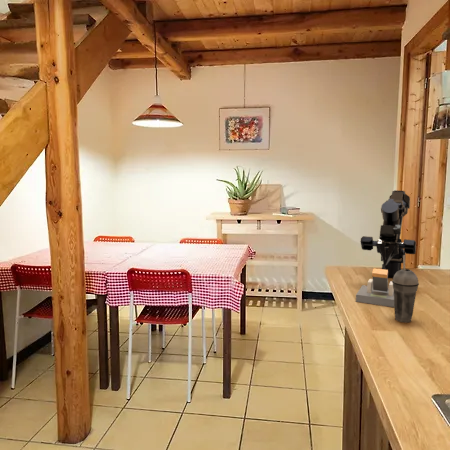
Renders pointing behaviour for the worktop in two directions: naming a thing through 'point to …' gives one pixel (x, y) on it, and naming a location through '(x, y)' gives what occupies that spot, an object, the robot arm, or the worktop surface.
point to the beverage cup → (404, 293)
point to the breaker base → (376, 295)
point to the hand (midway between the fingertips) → (384, 264)
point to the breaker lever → (380, 279)
